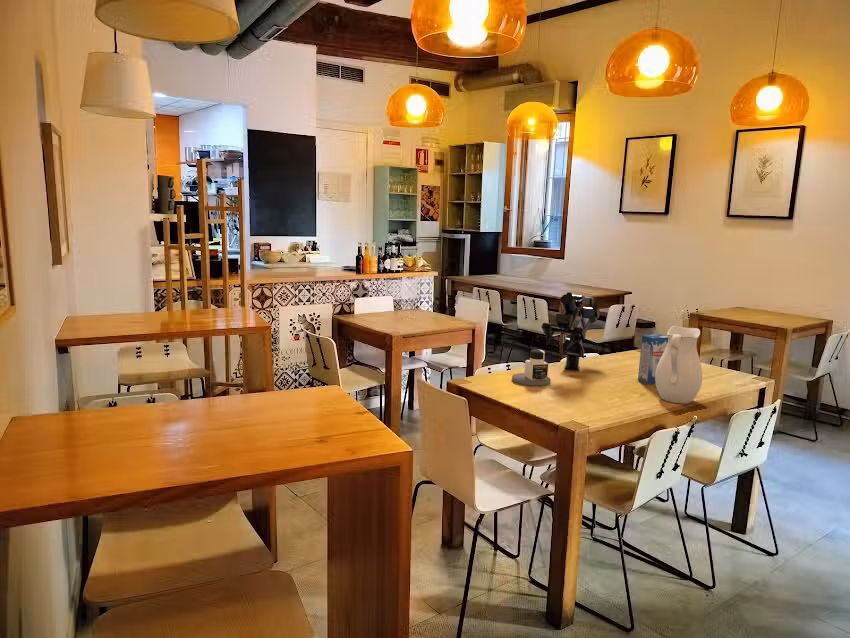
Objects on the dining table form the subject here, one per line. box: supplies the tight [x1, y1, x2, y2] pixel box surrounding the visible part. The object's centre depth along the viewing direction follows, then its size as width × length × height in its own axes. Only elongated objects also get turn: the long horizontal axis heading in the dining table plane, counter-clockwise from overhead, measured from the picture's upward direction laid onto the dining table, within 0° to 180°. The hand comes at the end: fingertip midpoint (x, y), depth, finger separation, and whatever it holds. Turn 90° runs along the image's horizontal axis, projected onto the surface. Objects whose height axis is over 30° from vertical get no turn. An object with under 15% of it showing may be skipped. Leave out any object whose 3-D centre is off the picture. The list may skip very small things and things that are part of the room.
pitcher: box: [655, 325, 703, 405], centre depth 240 cm, size 24×17×28 cm
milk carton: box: [637, 334, 668, 385], centre depth 269 cm, size 10×6×20 cm, turn 111°
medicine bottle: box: [524, 348, 549, 381], centre depth 262 cm, size 7×7×12 cm
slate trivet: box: [511, 372, 551, 388], centre depth 264 cm, size 16×16×2 cm
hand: (556, 346), depth 270 cm, fingers open, 9 cm apart
